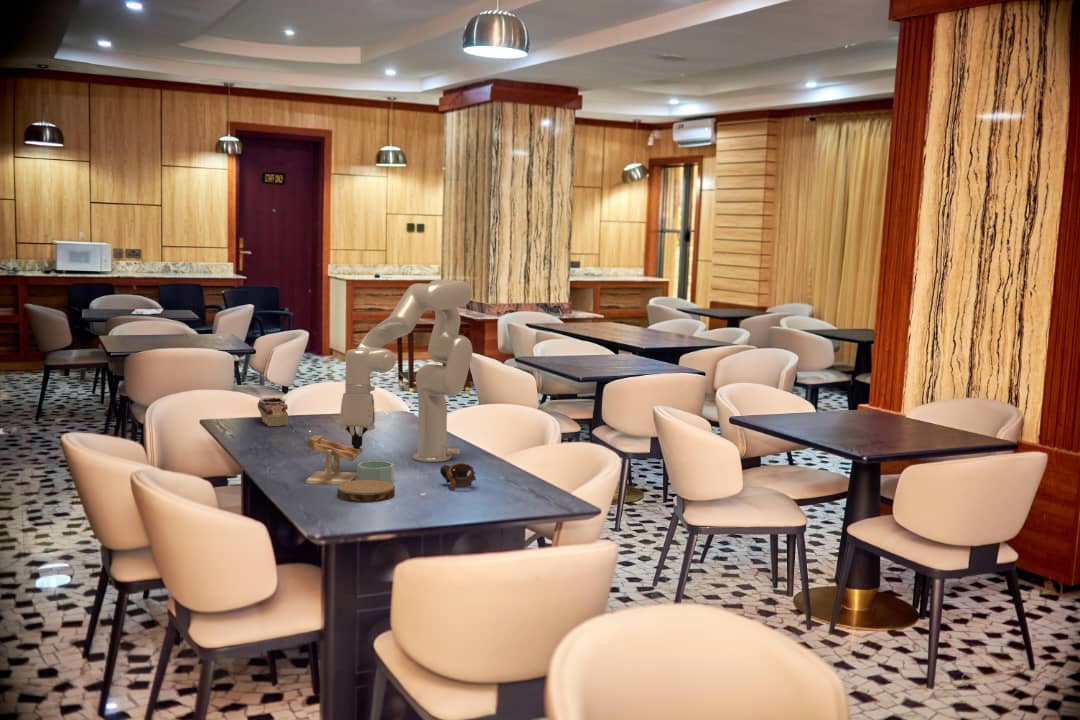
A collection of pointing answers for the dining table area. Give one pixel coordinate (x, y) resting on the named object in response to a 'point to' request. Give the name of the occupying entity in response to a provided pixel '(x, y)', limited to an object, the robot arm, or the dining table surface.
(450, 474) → the pottery mug
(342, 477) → the frame
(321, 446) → the lever
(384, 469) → the green octagonal bowl
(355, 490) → the wood log slice
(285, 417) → the decorative box
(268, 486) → the dining table surface
